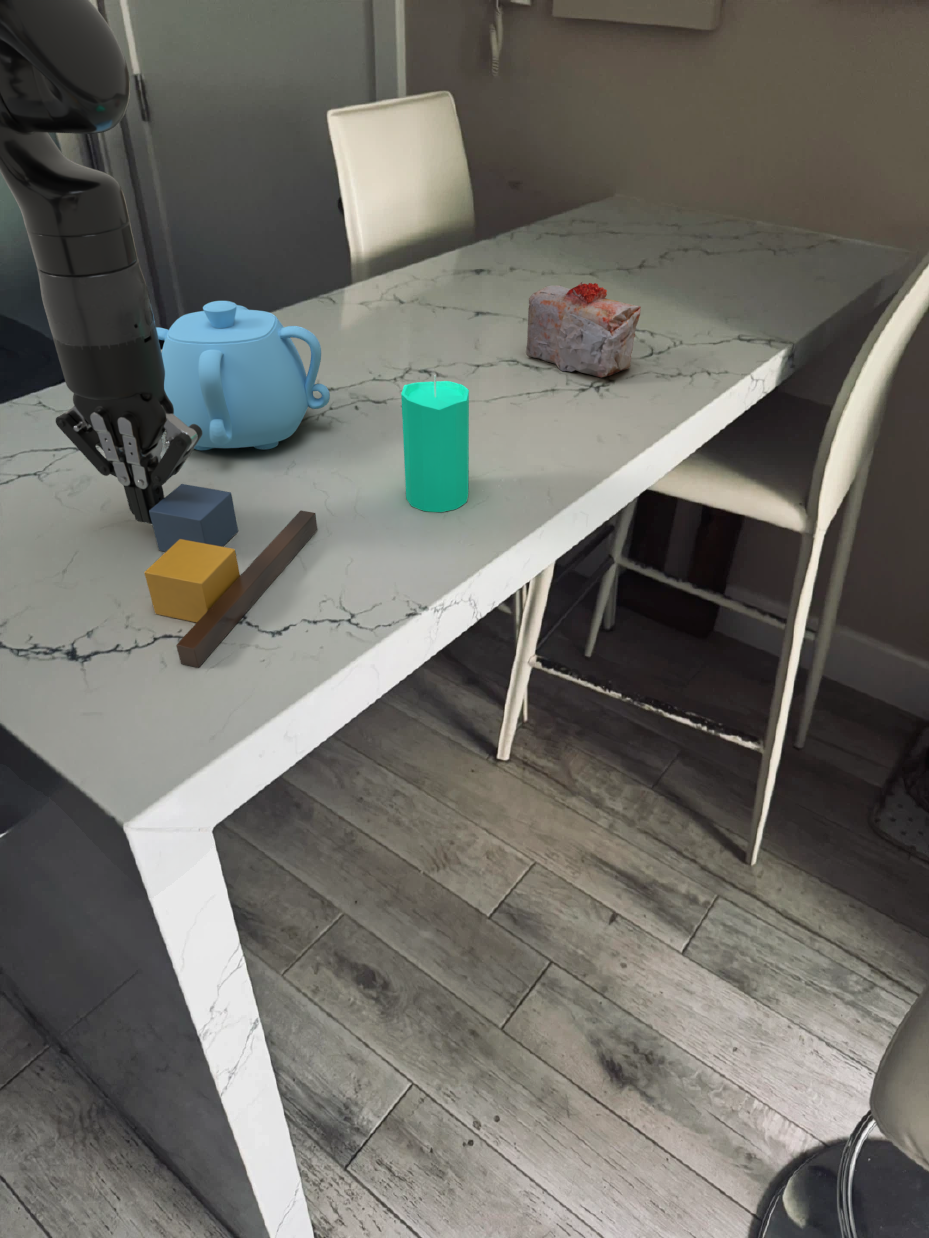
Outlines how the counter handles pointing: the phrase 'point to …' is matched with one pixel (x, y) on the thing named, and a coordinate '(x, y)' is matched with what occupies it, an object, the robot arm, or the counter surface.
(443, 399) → the candle
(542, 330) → the food item
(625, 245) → the counter surface
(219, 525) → the slate block
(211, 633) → the straightedge
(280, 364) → the decorative pot
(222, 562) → the ochre block
